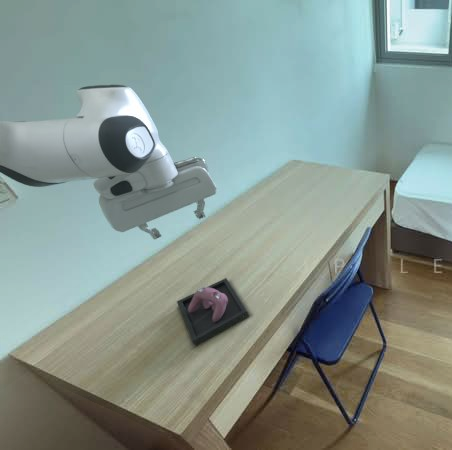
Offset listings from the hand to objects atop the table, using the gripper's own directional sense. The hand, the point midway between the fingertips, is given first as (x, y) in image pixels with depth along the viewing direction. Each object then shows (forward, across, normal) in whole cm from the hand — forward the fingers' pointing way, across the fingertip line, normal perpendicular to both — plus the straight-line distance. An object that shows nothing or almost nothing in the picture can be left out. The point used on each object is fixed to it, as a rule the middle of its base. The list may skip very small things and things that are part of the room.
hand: (180, 227), depth 70 cm
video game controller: (+24, +3, +3) cm, 24 cm away
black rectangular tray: (+24, +3, +3) cm, 25 cm away
